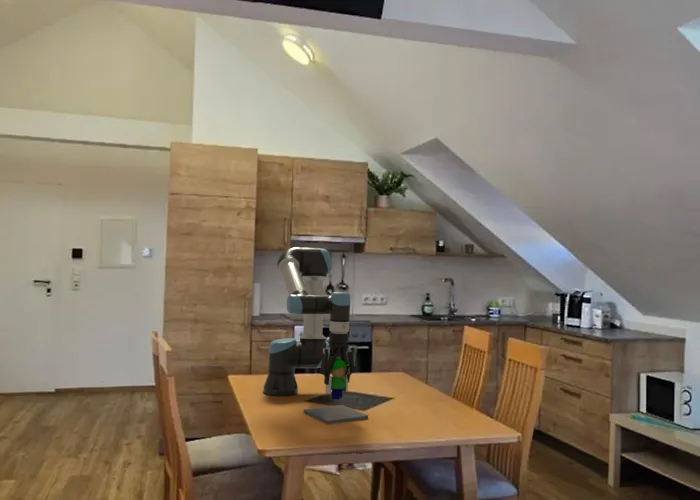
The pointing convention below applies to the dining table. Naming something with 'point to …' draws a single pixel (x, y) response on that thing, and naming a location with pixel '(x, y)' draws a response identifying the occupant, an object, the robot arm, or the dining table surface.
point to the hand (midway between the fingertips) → (336, 392)
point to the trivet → (335, 414)
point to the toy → (339, 378)
